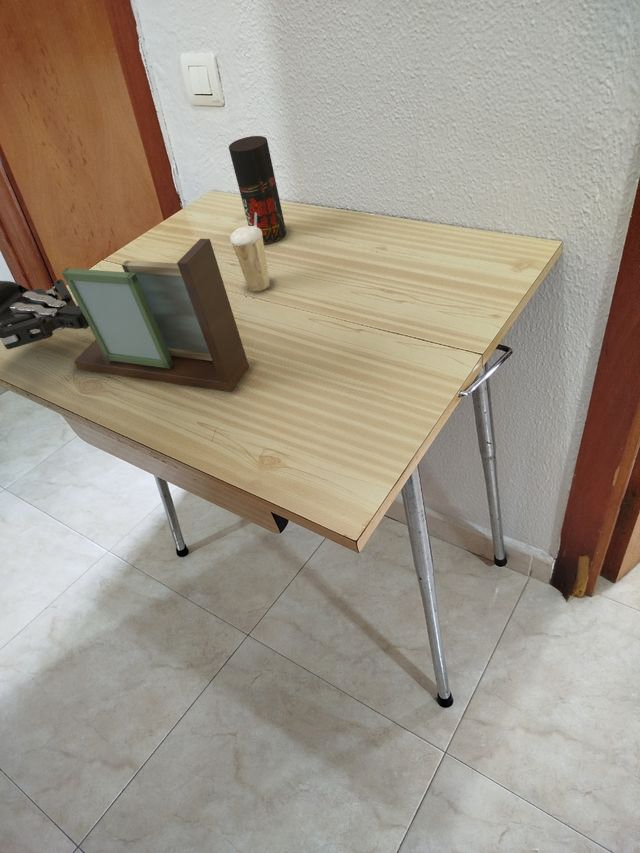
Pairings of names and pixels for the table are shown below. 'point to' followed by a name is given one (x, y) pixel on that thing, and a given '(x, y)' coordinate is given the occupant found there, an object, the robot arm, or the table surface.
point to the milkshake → (251, 255)
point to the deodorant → (258, 186)
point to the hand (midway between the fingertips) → (88, 318)
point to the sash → (119, 316)
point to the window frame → (184, 324)
